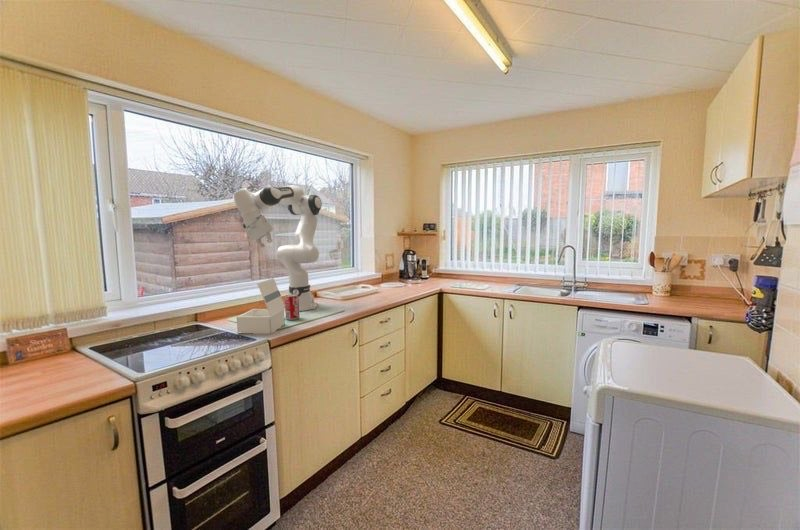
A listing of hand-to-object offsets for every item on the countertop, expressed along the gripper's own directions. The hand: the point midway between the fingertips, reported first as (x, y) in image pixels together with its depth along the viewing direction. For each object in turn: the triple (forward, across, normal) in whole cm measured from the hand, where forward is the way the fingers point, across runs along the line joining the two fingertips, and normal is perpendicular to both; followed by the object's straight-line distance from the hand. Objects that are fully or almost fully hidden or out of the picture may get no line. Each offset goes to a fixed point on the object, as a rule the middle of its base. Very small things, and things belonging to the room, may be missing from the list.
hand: (266, 244), depth 175 cm
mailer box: (+36, +4, +20) cm, 42 cm away
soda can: (+41, +10, +1) cm, 42 cm away
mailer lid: (+24, -5, +12) cm, 28 cm away
